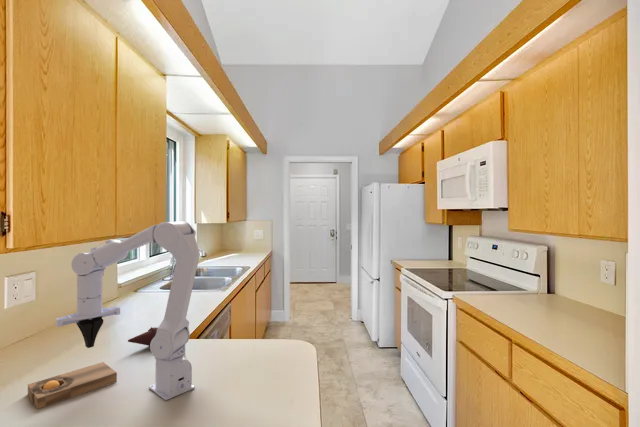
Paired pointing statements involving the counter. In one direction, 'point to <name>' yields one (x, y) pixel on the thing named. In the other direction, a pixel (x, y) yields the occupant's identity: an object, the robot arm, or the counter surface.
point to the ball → (51, 385)
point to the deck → (71, 384)
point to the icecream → (145, 337)
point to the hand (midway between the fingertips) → (89, 346)
